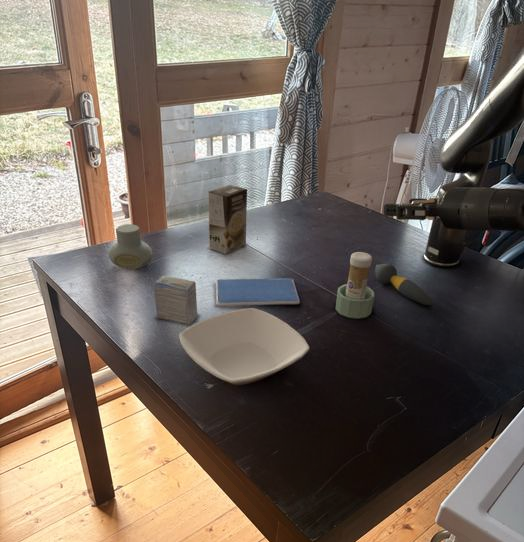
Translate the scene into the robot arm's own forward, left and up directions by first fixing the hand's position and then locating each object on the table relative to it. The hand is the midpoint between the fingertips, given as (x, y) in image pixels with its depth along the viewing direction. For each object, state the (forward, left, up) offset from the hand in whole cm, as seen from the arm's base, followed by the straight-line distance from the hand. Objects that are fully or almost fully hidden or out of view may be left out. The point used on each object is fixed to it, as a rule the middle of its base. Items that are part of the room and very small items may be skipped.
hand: (397, 206), depth 105 cm
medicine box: (+33, -32, -25) cm, 52 cm away
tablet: (+13, -26, -25) cm, 38 cm away
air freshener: (+23, -60, -25) cm, 69 cm away
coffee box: (-3, -50, -25) cm, 56 cm away
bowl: (+36, -10, -25) cm, 45 cm away
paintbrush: (-13, -1, -25) cm, 28 cm away
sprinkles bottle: (+3, -5, -25) cm, 26 cm away
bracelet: (+3, -5, -25) cm, 25 cm away
